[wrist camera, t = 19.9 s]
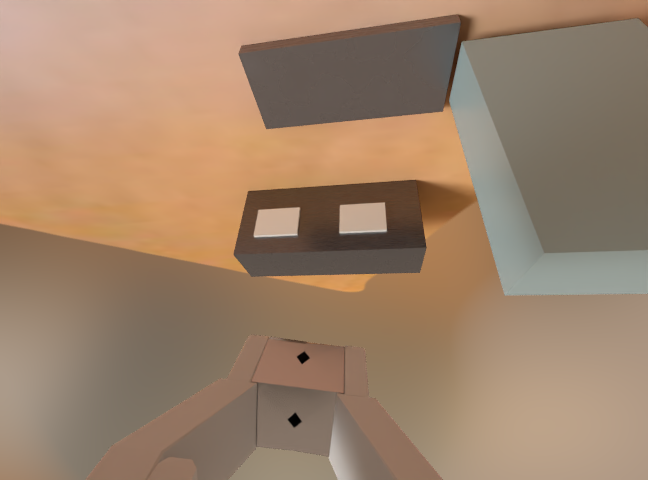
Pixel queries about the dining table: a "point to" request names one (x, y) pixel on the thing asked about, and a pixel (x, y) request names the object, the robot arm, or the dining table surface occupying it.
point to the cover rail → (353, 73)
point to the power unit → (332, 230)
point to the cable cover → (560, 155)
